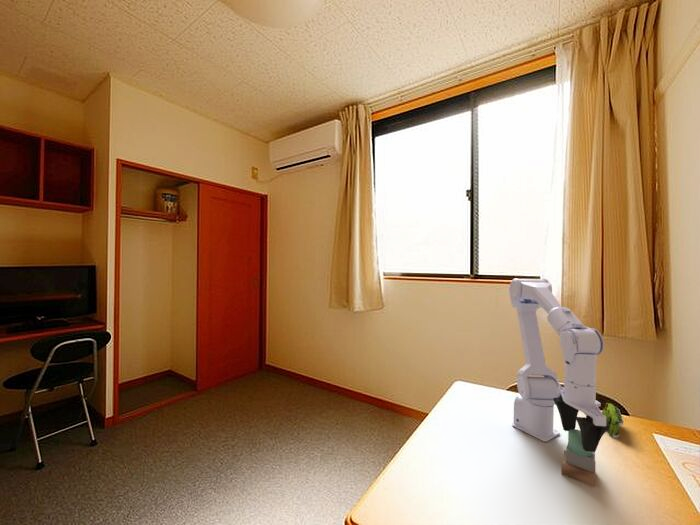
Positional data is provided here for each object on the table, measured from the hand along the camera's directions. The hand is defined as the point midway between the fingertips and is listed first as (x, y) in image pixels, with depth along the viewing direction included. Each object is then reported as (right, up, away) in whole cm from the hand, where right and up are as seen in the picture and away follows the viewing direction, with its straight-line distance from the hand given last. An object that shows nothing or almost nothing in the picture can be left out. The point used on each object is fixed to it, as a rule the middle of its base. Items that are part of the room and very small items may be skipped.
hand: (578, 439), depth 69 cm
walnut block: (0, -8, +1) cm, 8 cm away
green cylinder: (0, -2, 0) cm, 2 cm away
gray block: (+1, -5, 0) cm, 5 cm away
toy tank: (+21, -8, +18) cm, 29 cm away
